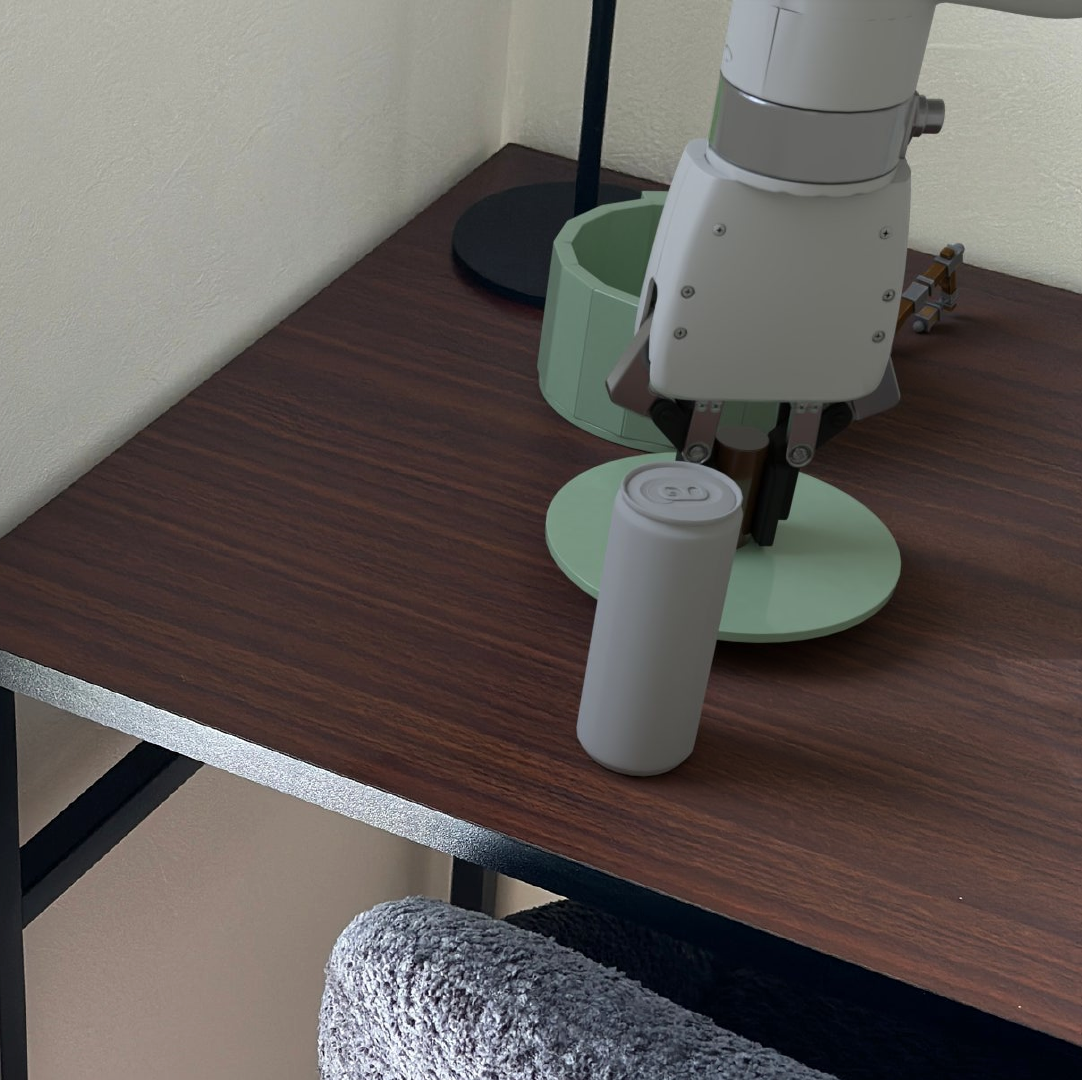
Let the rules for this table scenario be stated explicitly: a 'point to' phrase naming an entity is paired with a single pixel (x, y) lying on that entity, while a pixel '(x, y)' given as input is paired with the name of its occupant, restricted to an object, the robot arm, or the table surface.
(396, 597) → the table surface
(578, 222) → the pot
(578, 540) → the lid
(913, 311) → the toy blunderbuss gun
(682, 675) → the beverage can
